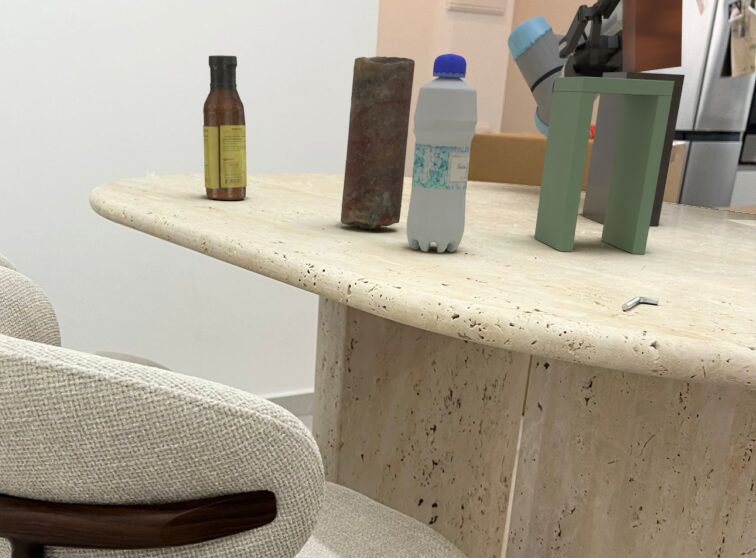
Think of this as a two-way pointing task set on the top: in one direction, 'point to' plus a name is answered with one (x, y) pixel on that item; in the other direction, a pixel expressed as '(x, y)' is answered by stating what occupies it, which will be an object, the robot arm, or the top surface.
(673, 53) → the brown box
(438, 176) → the bottle
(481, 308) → the top surface
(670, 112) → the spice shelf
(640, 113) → the green arch
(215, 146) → the sauce bottle
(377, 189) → the rusty brown cylinder
